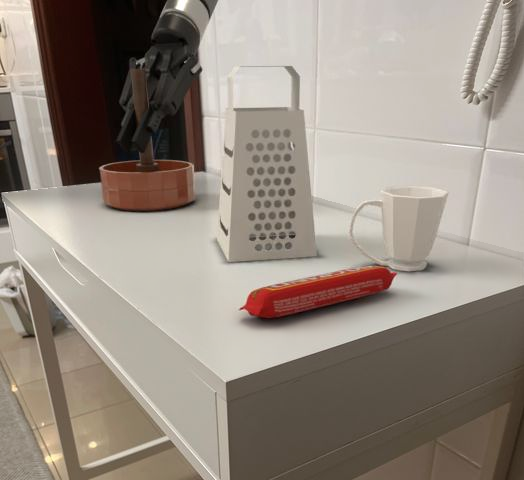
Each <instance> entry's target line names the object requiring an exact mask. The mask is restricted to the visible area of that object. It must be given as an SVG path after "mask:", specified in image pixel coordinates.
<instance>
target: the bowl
mask: <svg viewBox="0 0 524 480" xmlns="http://www.w3.org/2000/svg"><path fill="white" fill-rule="evenodd" d="M139 163H140V159H139V160H128V161H127V160H126V161H118V162H112V163H107V164H103V165H102V166H100V167H98V171H99V179H100V185H101V186H100V187H101V194H102V201H103V203H104V205H107V206H110V207H112V208H114V209H117V210H120V211H121V210H122V211H129V212H153V211H165V210H170V209H171V210H173V209H176V208H180V207H183V206H186V205H188V204H189V203H191V202H193V201H195V199H196V184H195V183H196V182H195V165H194V163H192V162H188V161H183V160H173V159H154V163H158V166H159V172H137V168H136V164H139Z"/></svg>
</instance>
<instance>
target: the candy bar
mask: <svg viewBox="0 0 524 480" xmlns="http://www.w3.org/2000/svg"><path fill="white" fill-rule="evenodd" d="M397 275H398V273H397V272H391V271H390V270H389V268H387V266H383V265H362V266H357V267H356V266H355V267H351V268H346V269H340V270H336V271H331V272H327V273H322V274H318V275H313V276H308V277H304V278H298V279H294V280H290V281H284V282H280V283H275V284H270V285H266V286H262V287H260V288H257V289H254V290H252V291H251V292H250V293H249V294H248V296H247V298H246V302H245V304H244V305H243V306H241V307H240V308H239V309H238V311H242V310H245V311H247V313H248V314H249V315H250V316H252V317H257V318H263V319H264V318H265V319H272V318H279V317H283V316H288V315H294V314H297V313H301V312H305V311H310V310H313V309H318V308H322V307H326V306H330V305H335V304H338V303H342V302H346V301H350V300H354V299H358V298H363V297H366V296H371V295H374V294H378V293H381V292H384V291H386V290H388V289H390V287H391V286H392V284H393V281H394V278H395V277H396V276H397Z"/></svg>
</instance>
